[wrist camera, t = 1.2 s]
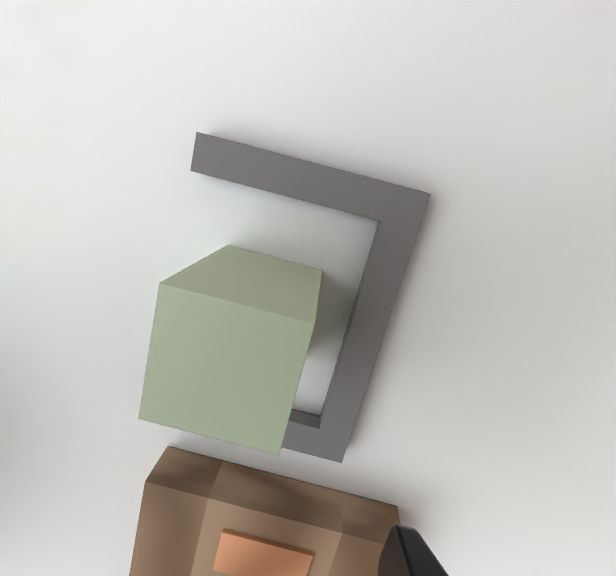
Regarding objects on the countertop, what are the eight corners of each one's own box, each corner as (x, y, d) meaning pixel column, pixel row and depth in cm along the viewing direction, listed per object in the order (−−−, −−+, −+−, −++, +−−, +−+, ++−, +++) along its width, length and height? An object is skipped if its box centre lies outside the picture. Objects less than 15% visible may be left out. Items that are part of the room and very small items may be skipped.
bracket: (159, 401, 20) (150, 412, 19) (204, 135, 16) (196, 131, 15) (341, 449, 20) (341, 463, 19) (425, 193, 16) (430, 193, 15)
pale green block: (209, 333, 19) (138, 418, 12) (227, 245, 17) (159, 282, 11) (298, 356, 19) (278, 455, 12) (322, 270, 17) (314, 323, 11)
